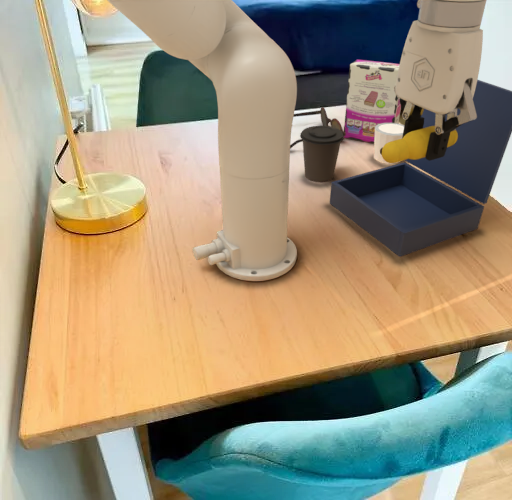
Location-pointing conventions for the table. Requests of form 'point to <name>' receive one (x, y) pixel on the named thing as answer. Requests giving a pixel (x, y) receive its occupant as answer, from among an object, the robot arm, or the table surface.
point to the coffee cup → (321, 152)
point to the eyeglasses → (325, 122)
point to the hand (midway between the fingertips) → (422, 150)
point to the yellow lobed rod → (412, 145)
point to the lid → (474, 144)
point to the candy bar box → (370, 98)
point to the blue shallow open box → (405, 207)
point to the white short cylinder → (386, 137)
